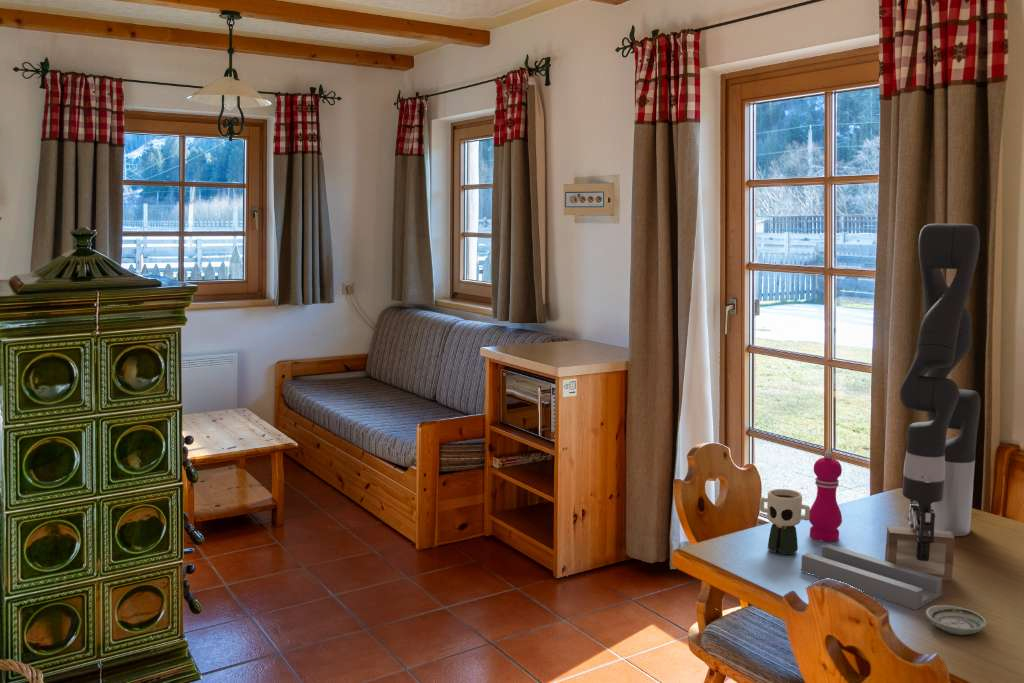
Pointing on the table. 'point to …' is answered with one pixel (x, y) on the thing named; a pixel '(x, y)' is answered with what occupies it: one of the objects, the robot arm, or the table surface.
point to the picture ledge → (874, 576)
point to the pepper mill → (826, 500)
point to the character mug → (784, 518)
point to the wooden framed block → (905, 549)
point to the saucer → (955, 619)
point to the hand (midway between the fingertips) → (918, 552)
